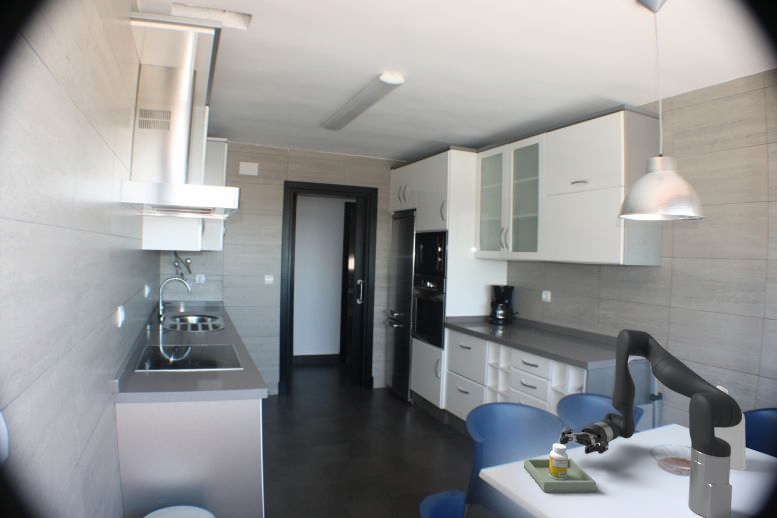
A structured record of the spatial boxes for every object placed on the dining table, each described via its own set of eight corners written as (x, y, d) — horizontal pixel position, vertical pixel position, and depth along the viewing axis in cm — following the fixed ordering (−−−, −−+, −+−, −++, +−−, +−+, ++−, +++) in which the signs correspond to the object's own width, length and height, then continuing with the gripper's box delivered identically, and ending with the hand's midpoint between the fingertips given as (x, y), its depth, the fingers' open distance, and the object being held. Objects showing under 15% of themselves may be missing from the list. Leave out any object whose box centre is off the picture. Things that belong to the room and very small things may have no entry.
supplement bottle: (552, 470, 154) (553, 440, 153) (569, 476, 150) (570, 445, 150) (546, 476, 149) (547, 445, 149) (563, 482, 146) (565, 450, 146)
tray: (595, 492, 142) (595, 482, 142) (543, 492, 141) (544, 482, 141) (570, 467, 158) (570, 458, 158) (523, 467, 157) (524, 458, 157)
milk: (745, 470, 161) (749, 394, 160) (706, 465, 164) (710, 390, 163) (730, 456, 172) (733, 385, 172) (694, 451, 175) (697, 381, 175)
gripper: (578, 418, 171) (553, 428, 160) (618, 430, 160) (595, 441, 150) (577, 439, 171) (553, 450, 161) (617, 452, 160) (594, 465, 150)
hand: (573, 446), depth 155 cm, fingers open, 8 cm apart
